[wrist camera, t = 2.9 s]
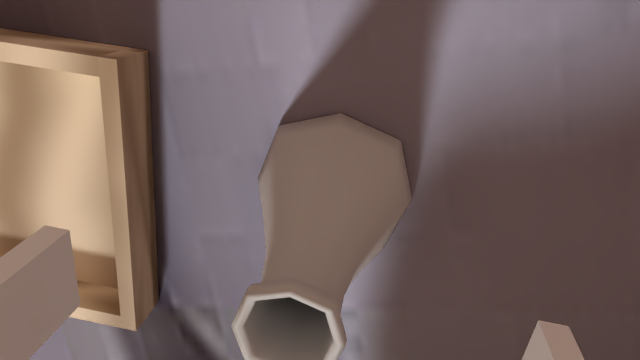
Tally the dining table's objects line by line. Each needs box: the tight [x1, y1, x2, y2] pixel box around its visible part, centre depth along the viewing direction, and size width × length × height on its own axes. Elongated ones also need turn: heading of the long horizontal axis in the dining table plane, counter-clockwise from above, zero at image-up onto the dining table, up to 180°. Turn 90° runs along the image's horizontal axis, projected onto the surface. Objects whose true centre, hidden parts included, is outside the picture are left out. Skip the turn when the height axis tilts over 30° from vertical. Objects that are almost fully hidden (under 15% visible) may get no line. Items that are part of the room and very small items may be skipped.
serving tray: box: [0, 28, 159, 331], centre depth 23 cm, size 14×14×2 cm
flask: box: [232, 113, 412, 360], centre depth 17 cm, size 7×7×10 cm
